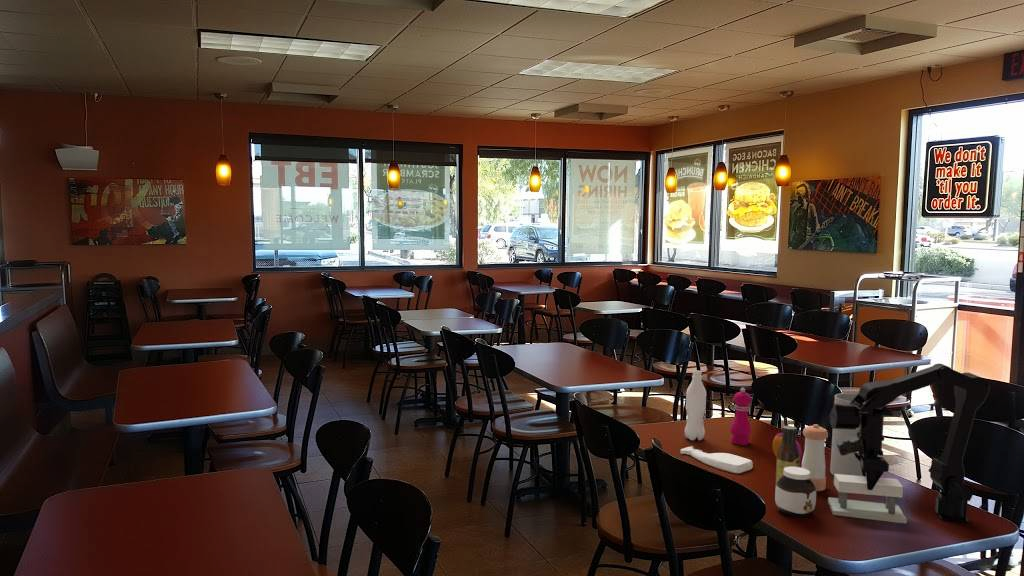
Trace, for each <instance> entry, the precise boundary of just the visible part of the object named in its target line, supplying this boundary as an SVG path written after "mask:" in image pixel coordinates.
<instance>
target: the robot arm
mask: <svg viewBox="0 0 1024 576" xmlns="http://www.w3.org/2000/svg"><path fill="white" fill-rule="evenodd" d="M941 382H947V383H950V384H952V385H953V395H954V401H955V407H954V411H953V415H952V419H951V422H950V426H949V429H948V433H947V436H946V440H945V444H944V447H943V451H942V454H941V455H940V456H939V457H938V458H935V457H932V458H931V461H930V462H931V465H930V467H929V469H928V472H929V473H930V474H929V477H930V479H931V481H932V482H933V483H934V484H935V486H936V489H937V490H939V491H938V496H936V497H935V508H934V512H935V513H936V514H937V515H938V516H939V518H940V519H941V520H945V521H951V522H952V521H954V522H962V523H969V519H968V518H967V516H968V513H967V512H968V502H971V500H972V498H973V495H974V493H973V492H972V491H971V490H970V489H969V488H968V487H967V486H966V485H965V475H966V474H965V473H966V472H965V468H964V463H963V460H964V456H965V453H966V449H967V446H968V442H969V437H970V434H971V430H972V428H973V423H974V421H975V420H974V419H975V416H976V412H977V411H978V409H979V408H980V407H981V406H982V405H983V404H984V402H985V401H986V399H987V397H988V395H989V393H990V387H991V386H990V384H989V382H988V380H987V379H985V378H984V377H981V376H979V375H976V374H973V373H970V372H963V373H962V372H960V371H957V370H955V369H952V367H950V366H947V365H945V364H943V363H935V364H933V365H931V366H929V367H926V368H923V369H920V370H917V371H914V372H912V373H909V374H906V375H903V376H899V377H896V378H894V379H889V380H876V381H869V382H865V383H863V384H861V386H860V388H859V391H858V393H856V394H857V395H856V397H855V398H854V399H853V400H852V401H851V402H850V405H843V404H836V403H834V402H833V407H831V410H830V413H829V423H830V427H831V428H832V430H833V429H852V430H855V429H856V428H859V425H860V430H858V432H857V435H856V436H854V437H848V438H843V439H839V440H836V444H837V447H838V450H839V453H840V455H842V456H844V455H847V454H850V453H854V452H857V453H854V455H855V457H856V458H857V459H858V460H859V461H860V466H861V471H862V476H866V481H867V489H868V490H872V489H873V488H874V486H875V485H876V483H877V482H878V480H879V478H882V476H883V474H884V473H887V472H890V471H889V470H890V464H889V463H888V461H887V460H886V458H885V457H884V451H883V442H884V441H885V436H884V423H885V422H884V421H885V420H884V419H885V416H887V417H888V416H890V417H892V416H894V415H893V412H891V411H890V410H889V408H888V407H887V406H888V405H889V404H891V403H893V402H894V401H895V400H896V399H898V398H899V397H900V396H902V395H905V394H908V393H912V392H914V391H917V390H920V389H923V388H926V387H930V386H933V385H935V384H938V383H941ZM864 402H865V404H862V403H864Z"/></svg>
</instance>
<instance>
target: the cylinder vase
mask: <svg viewBox="0 0 1024 576" xmlns="http://www.w3.org/2000/svg"><path fill="white" fill-rule="evenodd" d="M857 394H858V393H852V392H851V393H850V392H849V393H848V392H847V393H845V392H842V393H837V394H835V395H834V401H833V404H834V403H836V404H843V405H850V402H851V401H852V400H853V399H854V398H855V397H856V395H857ZM862 404H865V402H864V403H862ZM858 430H860V425H859V428H856V429H855V430H852V429H833V428H832V438H831V449H830V450H831V453H830V456H831V457H830V467H829V471H830V474H831V475H832V476H833V477H834V474H843V475H854V476H862V471H861V466H860V461H859V460H858V459H857V458H856V457H855V455H854V453H857V452H854V453H850V454H847V455H844V456H842V455H840V453H839V450H838V447H837V444H836V440H839V439H843V438H848V437H854V436H856V435H857V432H858Z"/></svg>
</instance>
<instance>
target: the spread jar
mask: <svg viewBox="0 0 1024 576" xmlns="http://www.w3.org/2000/svg"><path fill="white" fill-rule="evenodd" d="M783 474H784V475H783V476H782V477H780V478H779V480H778V481H777V484H776V483H775V493H774V500H775V505H776V506H777V508H778V509H779V510H780V511H781V512H782V513H783V514H785V515H788V516H790V517H796V518H797V517H798V518H803V517H807V516H808V515H810V514H811V513H812V512H813V511H814V510H815V507H816V503H817V491H816V486H815V484H814V483H813V481H812V480H811V479H810V471H809V470H807V469H804V468H802V467H801V466H799V467H785V468H784V472H783Z"/></svg>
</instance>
